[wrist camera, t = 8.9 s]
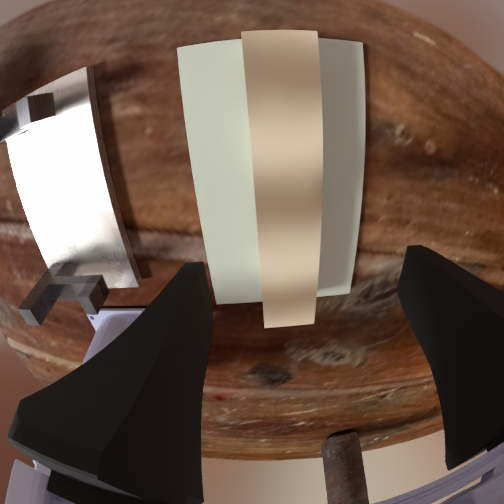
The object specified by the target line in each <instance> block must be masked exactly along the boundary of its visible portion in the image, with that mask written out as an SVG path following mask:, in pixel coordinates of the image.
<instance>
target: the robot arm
mask: <svg viewBox="0 0 504 504" xmlns="http://www.w3.org/2000/svg"><path fill="white" fill-rule="evenodd" d="M396 291H397V294H398V297H399V299H400V302H401V305H402V308H403V310H404V313H405V315H406V317H407V319H408V321H409V323H410V325H411V327H412V329H413V331H414V333H415V335H416V337H417V339H418V341H419V343H420V345H421V347H422V349H423V351H424V353H425V355H426V358H427V360H428V362H429V365H430V367H431V370H432V374H433V377H434V380H435V384H436V387H437V391H438V396H439V400H440V405H441V410H442V416H443V423H444V431H445V447H446V448H445V450H446V452H445V453H446V454H445V458H446V459H445V462H446V466H447V469H448V470H451V469H453V468H455V467H457V466H459V465H461V464H463V463H464V462H466V461H468V460H470V459H472V458H473V457H475V456H477V455H479V454H480V453H482V452H483V451H485V450H487V451H488V453H486V454H485V455H483V456H481V457H480V458H478V459H477V460H475V461H473V462H471V463H469V464H468V465H466V466H464V467H462V468H460V469H458V470H456V471H455V472H453V473H451V474H449V475H447V476H445V477H442V478H440V479H438V480H436V481H434V482H432V483H429V484H427V485H425V486H422V487H420V488H417V489H415V490H412V491H410V492H407V493H405V494H402V495H399V496H396V497H393V498H390V499H387V500H384V501H381V502H377V503H374V504H431V503H433V502H435V501H437V500H439V499H441V498H443V497H445V496H447V495H449V494H451V493H453V492H455V491H457V490H458V489H460V488H462V487H464V486H466V485H467V484H469V483H471V482H472V481H474V480H476V479H477V478H479V477H481V476H482V475H483V476H482V479H481V481H480V482H479V483H478V484H476V485H474V486H472V487H470V488H468V489H466V490H463V491H461V492H460V493H458V494H456V495H454V496H452V497H450V498H449V499H447V500H445V501H444V502H442V503H441V504H504V292H502V291H500V290H498V289H496V288H494V287H493V286H491V285H489V284H488V283H486V282H484V281H483V280H481V279H479V278H477V277H476V276H474V275H473V274H471V273H469V272H468V271H466V270H465V269H463V268H461V267H460V266H458V265H456V264H455V263H453V262H452V261H450V260H448V259H447V258H445V257H443V256H442V255H440V254H438V253H436V252H435V251H433V250H431V249H429V248H427V247H424V246H422V245H414V246H408V247H407V251H406V255H405V260H404V264H403V268H402V271H401V275H400V279H399V283H398V286H397V290H396ZM87 316H88V318H89V320H90V321H91V323H92V325H93V327H94V328H95V330H96V334H95V336H94V338H93V340H92V342H91V344H90V347H89V349H88V351H87V354H86V356H85V358H84V361H83V363H82V365H81V366H80V367H78V368H77V369H75V370H74V371H72V372H71V373H69V374H68V375H66V376H64V377H63V378H61V379H59V380H58V381H56V382H54V383H53V384H51V385H49V386H47V387H45V388H44V389H42V390H40V391H38V392H36V393H34V394H32V395H30V396H28V397H26V398H24V399H22V400H21V401H20V403H19V405H18V408H17V410H16V413H15V416H14V418H13V421H12V424H11V427H10V429H9V433H8V436H7V440H8V442H9V443H10V444H11V445H13V446H14V447H15V448H17V449H18V450H19V451H21V452H22V453H24V454H26V455H27V456H29V457H30V458H32V459H33V462H34V464H35V469H34V468H32V467H30V466H28V465H26V464H25V463H23V462H21V461H19V460H15V462H14V465H13V469H12V473H11V477H10V481H9V486H8V490H7V495H6V501H5V504H202V503H203V502H204V498H203V486H202V470H201V409H202V394H203V386H204V379H205V373H206V367H207V361H208V355H209V349H210V343H211V337H212V325H213V304H212V300H211V296H210V291H209V286H208V282H207V277H206V272H205V267H204V263H203V262H193V263H185V264H184V265H183V266H182V268H181V269H180V270H179V271H178V272H177V273H176V275H175V276H174V277H173V278H172V279H171V281H170V282H169V283H168V284H167V285H166V286H165V288H164V289H163V290H162V291H161V292H160V293H159V295H158V296H157V297H156V298H155V299H154V300H153V301H152V303H151V304H150V305H149V306H148V307H147V308H101V309H100V311H99V313H98V315H87Z"/></svg>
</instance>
